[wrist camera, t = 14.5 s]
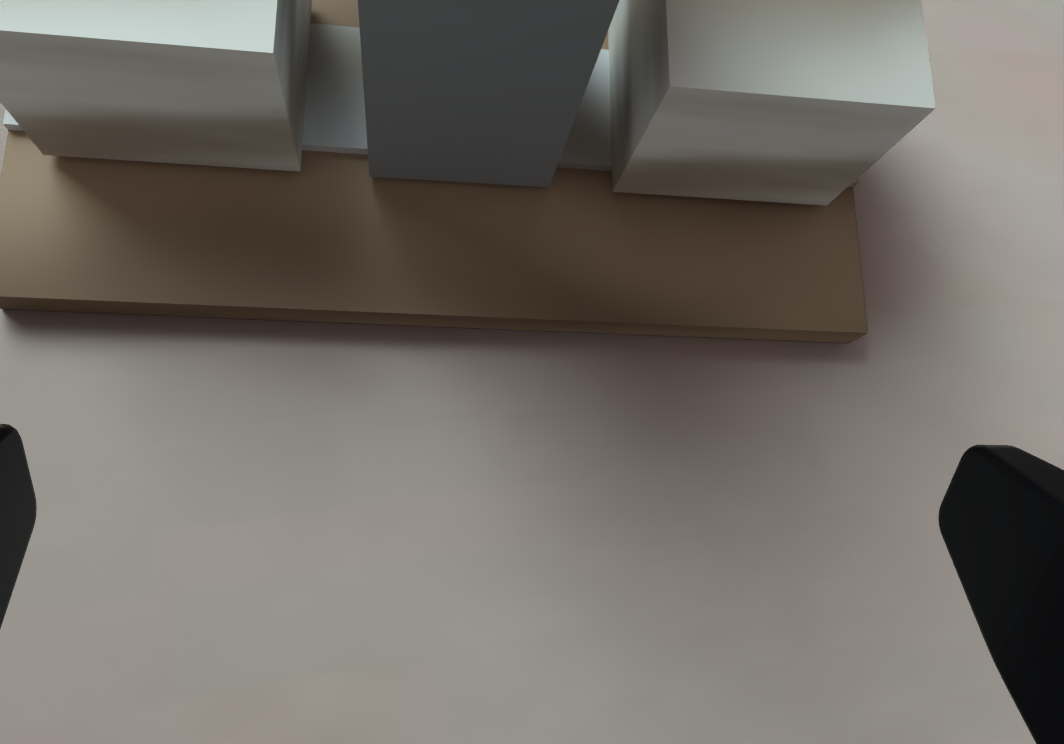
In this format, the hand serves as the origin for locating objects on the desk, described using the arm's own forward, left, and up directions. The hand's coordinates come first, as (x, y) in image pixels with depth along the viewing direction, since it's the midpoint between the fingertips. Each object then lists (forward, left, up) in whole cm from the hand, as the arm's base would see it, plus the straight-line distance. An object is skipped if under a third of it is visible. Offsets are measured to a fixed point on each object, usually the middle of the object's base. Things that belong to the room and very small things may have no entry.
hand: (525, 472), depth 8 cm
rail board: (+4, -11, -14) cm, 18 cm away
